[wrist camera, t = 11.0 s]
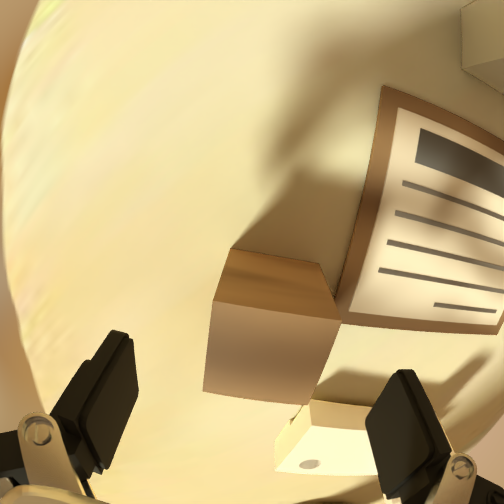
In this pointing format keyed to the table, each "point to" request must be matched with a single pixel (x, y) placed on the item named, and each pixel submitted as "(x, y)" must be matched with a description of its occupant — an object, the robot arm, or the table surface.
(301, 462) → the bracket
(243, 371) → the walnut block
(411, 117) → the brown white flat panel
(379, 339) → the table surface
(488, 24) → the block
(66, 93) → the table surface
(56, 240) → the table surface
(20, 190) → the table surface
